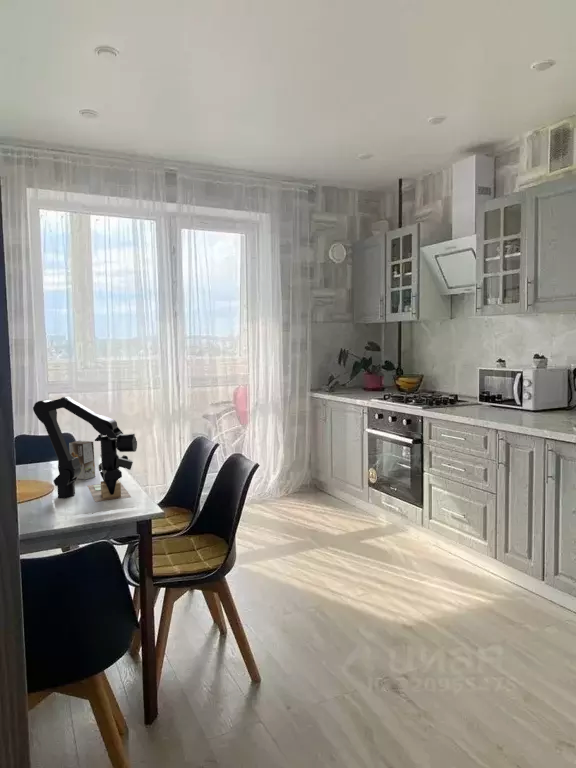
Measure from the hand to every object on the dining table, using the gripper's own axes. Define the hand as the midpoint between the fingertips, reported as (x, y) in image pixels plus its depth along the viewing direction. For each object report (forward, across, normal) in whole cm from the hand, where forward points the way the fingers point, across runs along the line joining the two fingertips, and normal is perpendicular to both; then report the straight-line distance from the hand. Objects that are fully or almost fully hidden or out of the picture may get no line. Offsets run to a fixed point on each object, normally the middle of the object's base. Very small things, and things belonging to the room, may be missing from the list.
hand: (110, 492), depth 218 cm
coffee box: (+2, +43, +6) cm, 44 cm away
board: (+2, +7, 0) cm, 7 cm away
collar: (+1, 0, 0) cm, 1 cm away
